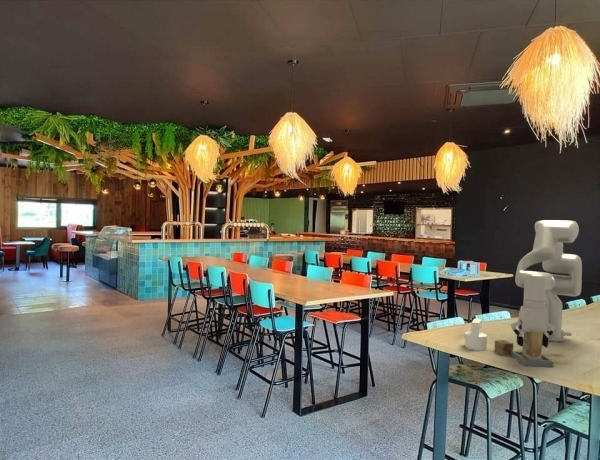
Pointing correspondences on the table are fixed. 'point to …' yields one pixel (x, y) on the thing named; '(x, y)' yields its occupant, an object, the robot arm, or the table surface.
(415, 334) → the table surface
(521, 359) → the slate tray
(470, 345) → the base with upright slab
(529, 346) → the skincare box
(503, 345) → the walnut block
